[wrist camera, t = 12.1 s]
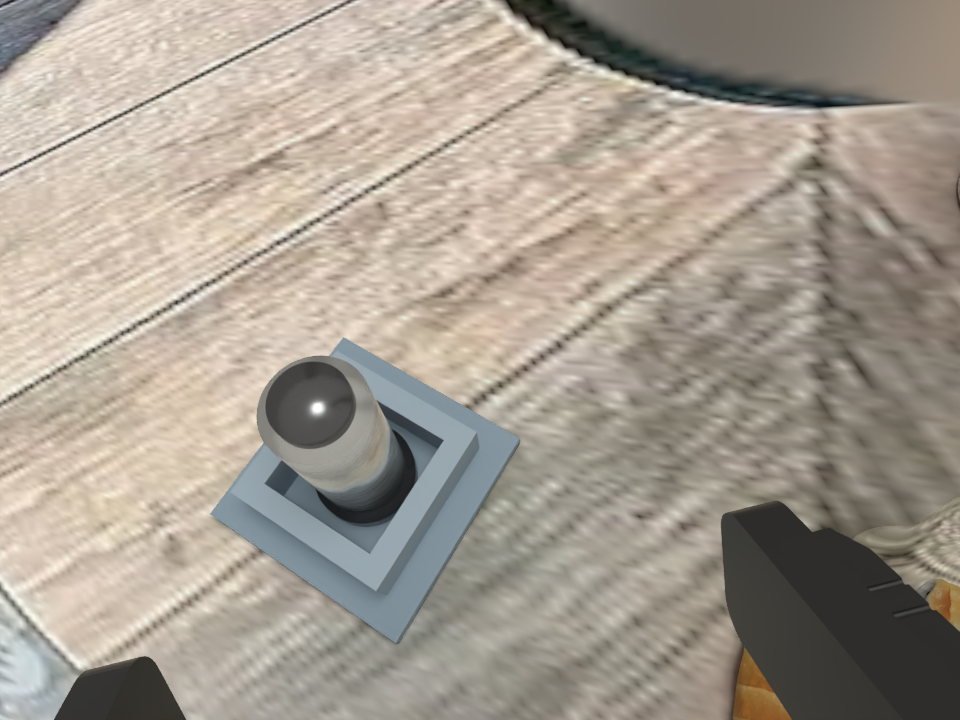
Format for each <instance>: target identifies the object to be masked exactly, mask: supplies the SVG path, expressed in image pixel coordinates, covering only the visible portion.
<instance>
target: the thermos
mask: <svg viewBox="0 0 960 720" xmlns="http://www.w3.org/2000/svg"><path fill="white" fill-rule="evenodd" d="M257 425H258V430H259V433H260V436H261V438H262V440H263V441H264V443H265V444H266V446H267V447H268V448H269V449H270V450H271V451H272V452H273V453H274V454H275V455H276V456H277V457H279V458H280V459H281V460H282V461H283V462H285V463H286V464H287V465H288V466H289V467H291V468H292V469H293V470H294V471H295V472H297V473H298V474H299V475H300V476H301V477H303V478H304V479H305V480H306V481H307V482H309V483H310V484H311V485H312V486H313V487H315V489H316V492H317V494H318V497H319V498H320V500H321V502H322V503H323V504H324V506H325V507H326V508H327V509H328V510H329V511H330V512H332V513H333V514H334V515H336V516H337V517H338V518H340V519H341V520H343V521H345V522H346V523H349V524H352V525H356V526H362V527H370V526H376V525H380V524H383V523H386V522H388V521H390V520H392V519H393V518H394V516H395V514H396V513H397V511H398V510H399V508H400V507H401V505H402V504H403V502H404V501H405V499H406V498H407V496H408V494H409V493H410V491H411V490H412V488H413V487H414V485H415V484H416V482H417V481H418V469H417V464H416V460H415V458H414V456H413V453H412V451H411V449H410V447H409V445H408V444H407V442H406V441H405V439H404V438H403V437H402V436H401V435H400V434H399V433H398V432H396V431H395V430H393V429H392V428H391V427H390V426H389V424H388V422H387V420H386V418H385V416H384V414H383V412H382V410H381V408H380V406H379V404H378V403H377V401H376V399H375V397H374V395H373V393H372V391H371V389H370V387H369V385H368V383H367V382H366V380H365V378H364V377H363V375H362V374H361V373H360V372H359V371H358V370H357V369H356V368H355V367H354V366H352V365H351V364H349V363H348V362H346V361H344V360H342V359H338V358H335V357H330V356H312V357H306V358H303V359H300V360H297V361H295V362H293V363H291V364H289V365H287V366H286V367H284V368H283V369H282V370H280V371H279V372H278V373H277V374H276V375H275V376H274V377H273V378H272V379H271V380H270V381H269V383H268V384H267V386H266V387H265V389H264V391H263V393H262V395H261V397H260V400H259V404H258V408H257Z"/></svg>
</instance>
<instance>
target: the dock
mask: <svg viewBox="0 0 960 720" xmlns="http://www.w3.org/2000/svg"><path fill="white" fill-rule="evenodd" d="M330 357H335V358H338V359H342V360H344V361H346V362H348V363H349V364H351V365H352V366H354V367H355V368H356V369H357V370H358V371H359V372H360V373H361V374H362V375H363V377H364V378H365V380H366V382H367V383H368V385H369V387H370V389H371V391H372V393H373V395H374V397H375V399H376V401H377V403H378V404H379V406H380V408H381V410H382V412H383V414H384V416H385V418H386V420H387V422H388V424H389V426H390V427H391V428H392V429H393V430H395V431H396V432H398V433H399V434H400V435H401V436H402V437H403V438H404V439H405V441H406V442H407V444H408V445H409V447H410V449H411V451H412V453H413V456H414V458H415V460H416V464H417V469H418V481H417V482H416V484H415V485H414V487H413V488H412V490H411V491H410V493H409V494H408V496H407V498H406V499H405V501H404V502H403V504H402V505H401V507H400V508H399V510H398V511H397V513H396V514H395V516H394V518H393V519H392V520H390V521H388V522H386V523H383V524H380V525H376V526H370V527H362V526H356V525H352V524H349V523H346V522H345V521H343V520H341V519H340V518H338V517H337V516H336V515H334V514H333V513H332V512H330V511H329V510H328V509H327V508H326V507H325V506H324V504H323V503H322V502H321V500H320V498H319V497H318V494H317V492H316V489H315V487H313V486H312V485H311V484H310V483H309V482H307V481H306V480H305V479H304V478H303V477H301V476H300V475H299V474H298V473H297V472H295V471H294V470H293V469H292V468H291V467H289V466H288V465H287V464H286V463H285V462H283V461H282V460H281V459H280V458H279V457H277V456H276V455H275V454H274V453H273V452H272V451H271V450H270V449H269V448H268V447H267V446H266V444H265V443H263V445H262V446H261V447H260V449H259V450H258V451H257V453H256V454H255V455H254V456H253V458H252V459H251V460H250V462H249V463H248V464H247V466H246V467H245V468H244V470H243V471H242V472H241V474H240V475H239V476H238V478H237V479H236V480H235V482H234V483H233V484H232V486H231V487H230V488H229V490H228V491H227V492H226V494H225V495H224V496H223V498H222V499H221V500H220V502H219V503H218V504H217V505H216V507H215V508H214V509H213V511H212V512H211V513H210V514H211V515H212V516H214V517H215V518H217V519H218V520H220V521H221V522H222V523H224V524H225V525H227V526H228V527H230V528H231V529H232V530H234V531H235V532H237V533H238V534H240V535H241V536H242V537H244V538H245V539H247V540H248V541H250V542H251V543H253V544H254V545H255V546H257V547H258V548H260V549H261V550H263V551H264V552H265V553H267V554H268V555H270V556H271V557H273V558H274V559H275V560H277V561H278V562H280V563H281V564H283V565H284V566H285V567H287V568H288V569H290V570H291V571H293V572H294V573H296V574H297V575H298V576H300V577H301V578H303V579H304V580H306V581H307V582H308V583H310V584H311V585H313V586H314V587H316V588H317V589H318V590H320V591H321V592H323V593H324V594H326V595H327V596H329V597H330V598H331V599H333V600H334V601H336V602H337V603H339V604H340V605H341V606H343V607H344V608H346V609H347V610H349V611H350V612H351V613H353V614H354V615H356V616H357V617H359V618H360V619H361V620H363V621H364V622H366V623H367V624H369V625H370V626H372V627H373V628H374V629H376V630H377V631H379V632H380V633H382V634H383V635H384V636H386V637H387V638H389V639H390V640H392V641H393V642H394V643H399V642H400V640H401V639H402V637H403V635H404V634H405V632H406V630H407V629H408V627H409V625H410V624H411V622H412V621H413V619H414V617H415V616H416V614H417V612H418V611H419V609H420V607H421V606H422V604H423V602H424V601H425V599H426V597H427V596H428V594H429V592H430V591H431V589H432V587H433V586H434V584H435V582H436V581H437V579H438V578H439V576H440V574H441V573H442V571H443V569H444V568H445V566H446V564H447V563H448V561H449V559H450V558H451V556H452V554H453V553H454V551H455V549H456V548H457V546H458V544H459V543H460V541H461V539H462V538H463V536H464V535H465V533H466V531H467V530H468V528H469V526H470V525H471V523H472V521H473V520H474V518H475V516H476V515H477V513H478V511H479V510H480V508H481V506H482V505H483V503H484V501H485V500H486V498H487V497H488V495H489V493H490V492H491V490H492V488H493V487H494V485H495V483H496V482H497V480H498V478H499V477H500V475H501V473H502V472H503V470H504V468H505V467H506V465H507V463H508V462H509V460H510V458H511V457H512V455H513V454H514V452H515V450H516V449H517V447H518V445H519V444H520V438H518V437H517V436H515V435H513V434H511V433H510V432H508V431H506V430H504V429H503V428H501V427H499V426H497V425H496V424H494V423H492V422H490V421H489V420H487V419H485V418H483V417H482V416H480V415H478V414H477V413H475V412H473V411H471V410H470V409H468V408H466V407H464V406H463V405H461V404H459V403H457V402H456V401H454V400H452V399H450V398H449V397H447V396H445V395H443V394H442V393H440V392H438V391H436V390H435V389H433V388H431V387H429V386H428V385H426V384H424V383H422V382H421V381H419V380H417V379H415V378H414V377H412V376H410V375H408V374H407V373H405V372H403V371H401V370H400V369H398V368H396V367H394V366H393V365H391V364H389V363H387V362H386V361H384V360H382V359H380V358H379V357H377V356H375V355H373V354H372V353H370V352H368V351H366V350H365V349H363V348H361V347H359V346H358V345H356V344H354V343H352V342H351V341H349V340H347V339H346V338H344V337H343V339H342V340H341V341H340V343H339V344H338V345H337V347H336V348H335V349H334V351H333V352H332V353H331V355H330Z"/></svg>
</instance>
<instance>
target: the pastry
mask: <svg viewBox="0 0 960 720" xmlns="http://www.w3.org/2000/svg"><path fill="white" fill-rule="evenodd" d="M732 720H792V719H791V717H790V716H789V714H788V713H787V711H786V710H785V708H784V707H783V705H782V704H781V702H780V701H779V699H778V697H777V696H776V694H775V693H774V691H773V690H772V688H771V687H770V685H769V684H768V682H767V681H766V679H765V677H764V676H763V674H762V673H761V671H760V670H759V668H758V667H757V665H756V664H755V662H754V661H753V659H752V657H751V656H750V654H749V653H748V651H747V650H746V648H745V647H744V651H743V656H742V660H741V664H740V667H739V672H738V677H737V685H736V692H735V702H734V711H733V718H732Z"/></svg>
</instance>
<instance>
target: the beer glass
mask: <svg viewBox="0 0 960 720" xmlns="http://www.w3.org/2000/svg"><path fill="white" fill-rule="evenodd" d="M852 540H854V541H856V542H858V543H860V544H862V545H864V546H866V547H868V548H870V549H871V550H872V551H873V552H874V553H876V554H877V555H878V556H879V557H880V558H881V559H882V560H883V561H884V562H885V563H886V564H887V565H888V566H890V567H891V568H892V569H893V570H894V571H895V572H896V573H897V574H898V575H899V576H900V577H901V578H902V581H903V583H904V584H905V585H906V584H909V585H910V586H911V587H912V588H913V589H914V590H915V591H917V592H918V593H919V594H920V595H921V596H922V597H923V598H924V599H925V600H926V601H927V602H928V603H929V606H930V608H931V609H932V610H937V611H938V612H939V613H940V614H941V615H942V616H943V617H945V618H946V619H947V620H948V621H949V622H950V623H951V624H952V625H953V626H954V627H955V628H956V629H957V630H959V631H960V496H958V497H956V498H954V499H953V500H951V501H950V502H948V503H947V504H945V505H944V506H942V507H941V508H939V509H938V510H936V511H935V512H934V513H932V514H931V515H929V516H928V517H926V518H925V519H924V520H922V521H920V522H919V523H917V524H916V525H913V526H879V527H874V528H871V529H868V530H865V531H863V532H861V533H859V534H858V535H856V536H855V537H854V538H853V539H852Z"/></svg>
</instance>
